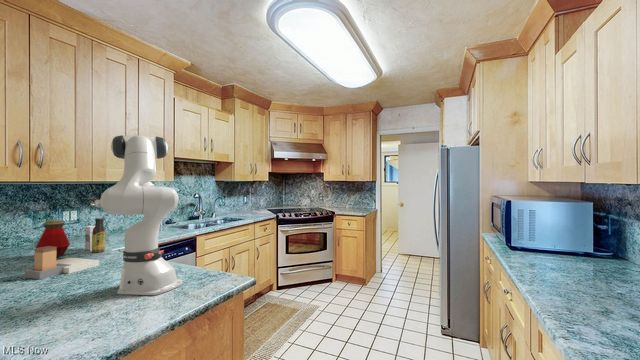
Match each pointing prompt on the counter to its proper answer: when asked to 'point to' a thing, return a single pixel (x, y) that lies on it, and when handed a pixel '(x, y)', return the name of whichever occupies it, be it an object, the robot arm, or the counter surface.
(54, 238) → the red faceted jar
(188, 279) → the counter surface
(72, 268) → the white slab
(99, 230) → the sauce bottle
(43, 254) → the tan upright wooden block
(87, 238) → the syrup box
